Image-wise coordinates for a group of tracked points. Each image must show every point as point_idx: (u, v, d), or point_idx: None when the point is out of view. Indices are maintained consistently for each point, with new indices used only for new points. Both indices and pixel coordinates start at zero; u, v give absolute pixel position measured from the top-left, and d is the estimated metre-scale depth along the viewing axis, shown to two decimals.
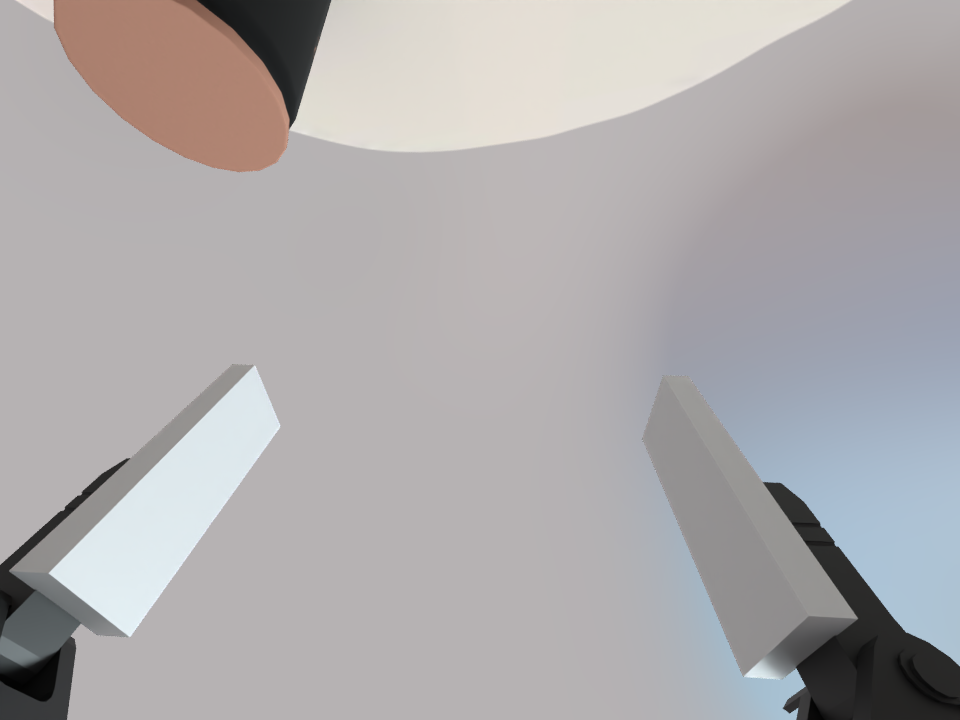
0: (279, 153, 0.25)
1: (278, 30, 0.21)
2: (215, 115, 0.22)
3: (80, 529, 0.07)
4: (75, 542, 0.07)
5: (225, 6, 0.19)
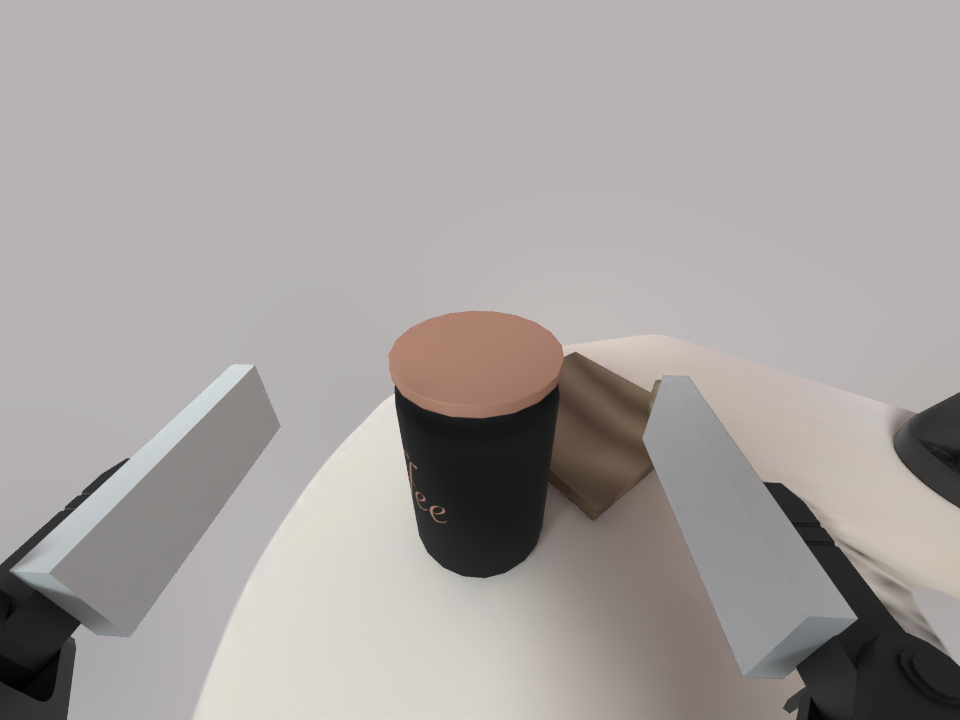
0: (414, 389, 0.19)
1: (510, 453, 0.21)
2: (460, 358, 0.22)
3: (80, 529, 0.07)
4: (75, 542, 0.07)
5: (540, 412, 0.21)
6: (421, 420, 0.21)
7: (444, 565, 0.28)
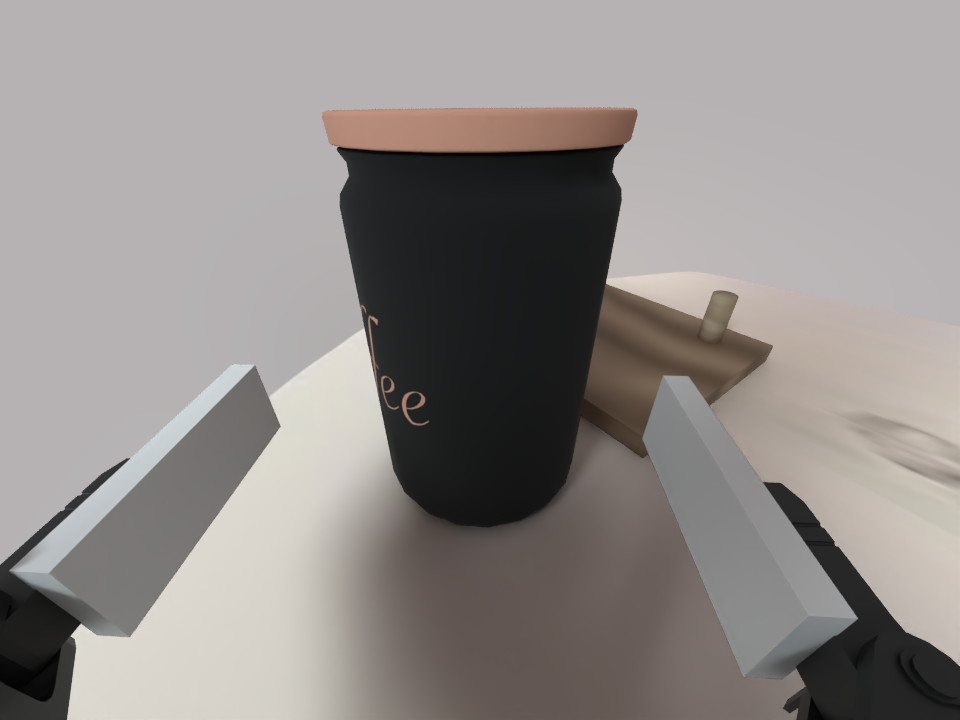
0: None
1: (542, 262, 0.11)
2: None
3: (80, 529, 0.07)
4: (75, 542, 0.07)
5: (596, 191, 0.11)
6: (377, 197, 0.11)
7: (428, 507, 0.18)
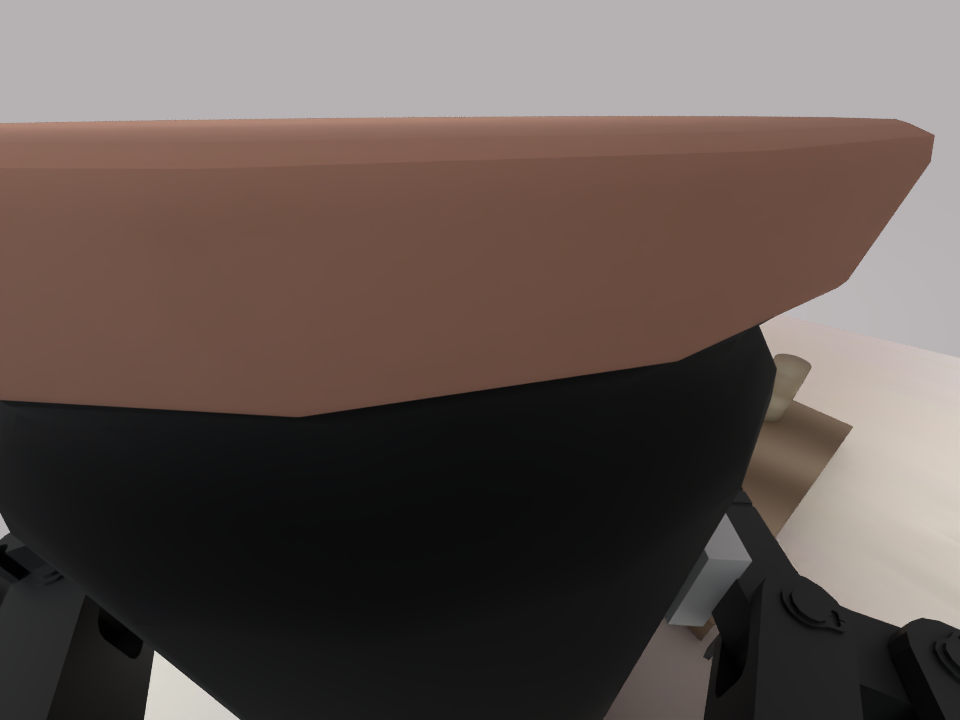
0: None
1: (577, 648, 0.03)
2: (310, 120, 0.04)
3: None
4: None
5: (747, 385, 0.04)
6: (0, 430, 0.03)
7: None
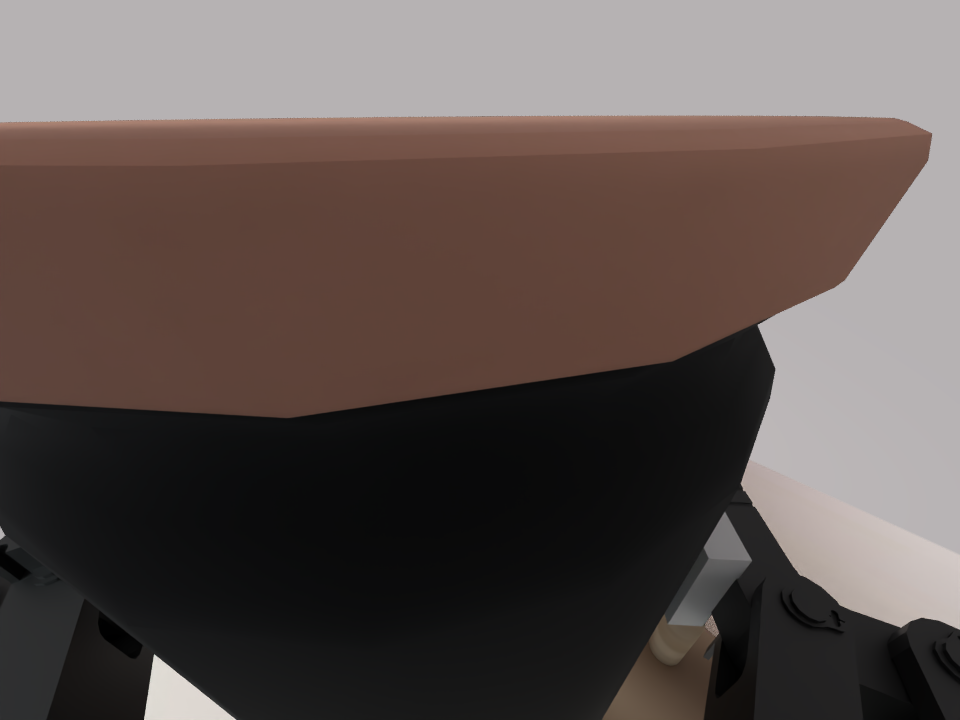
0: None
1: (574, 650, 0.03)
2: (307, 120, 0.04)
3: None
4: None
5: (745, 385, 0.04)
6: None
7: None
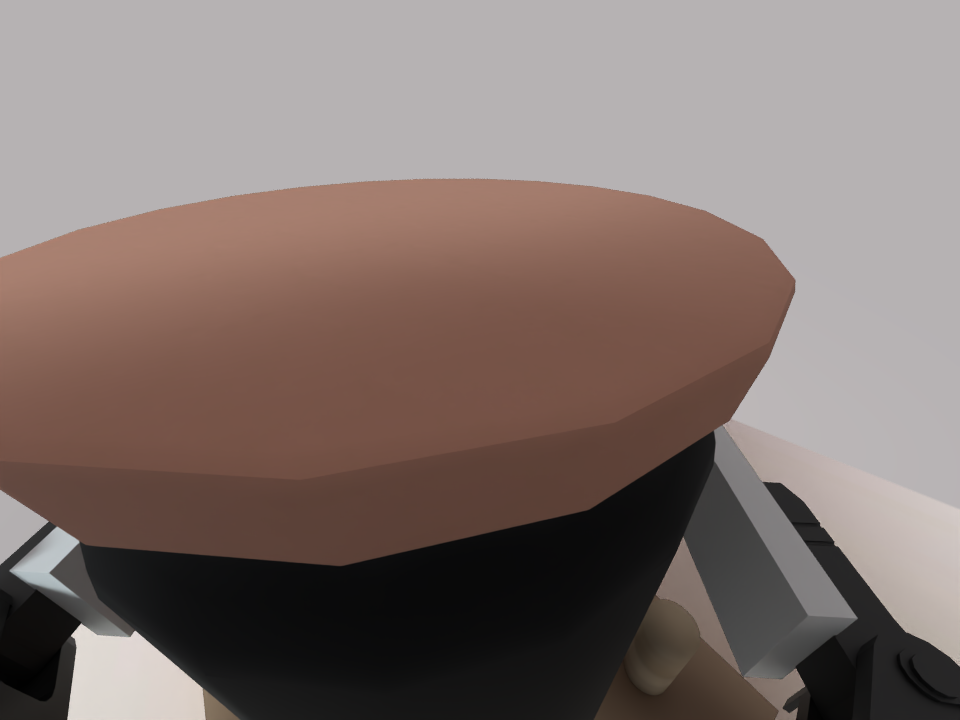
0: None
1: (544, 684, 0.04)
2: (326, 238, 0.05)
3: None
4: (75, 542, 0.07)
5: (682, 467, 0.04)
6: None
7: None
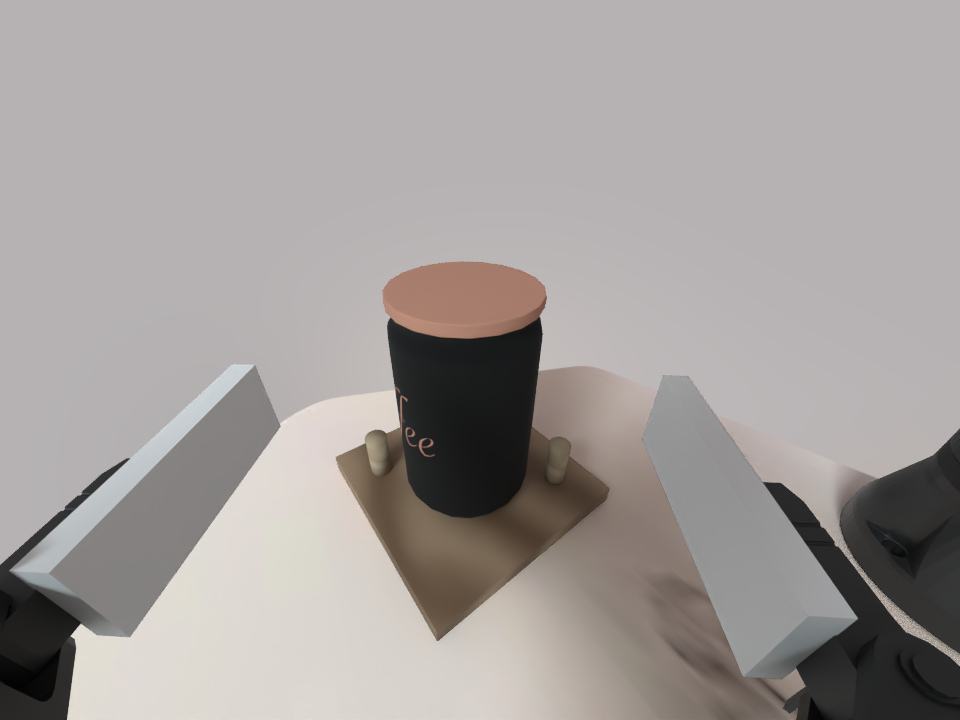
0: (406, 313, 0.21)
1: (495, 379, 0.22)
2: (449, 293, 0.23)
3: (80, 529, 0.07)
4: (75, 542, 0.07)
5: (523, 342, 0.23)
6: (412, 346, 0.22)
7: (432, 505, 0.29)
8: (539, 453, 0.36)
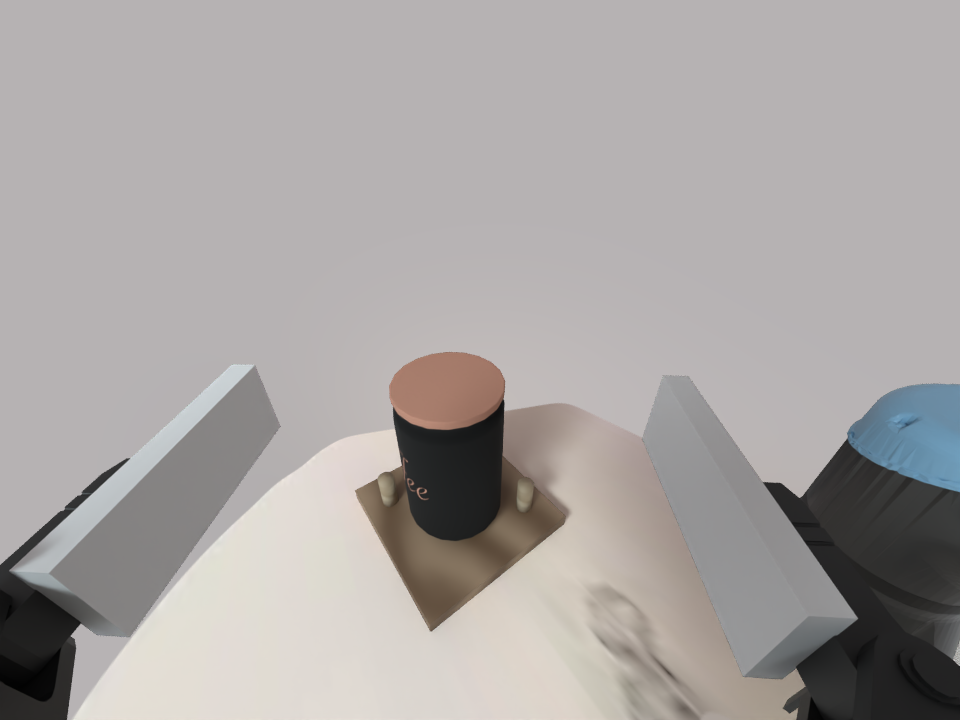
0: (405, 411, 0.31)
1: (467, 452, 0.32)
2: (436, 389, 0.33)
3: (80, 529, 0.07)
4: (75, 542, 0.07)
5: (487, 425, 0.32)
6: (410, 430, 0.32)
7: (427, 532, 0.39)
8: (513, 486, 0.46)
